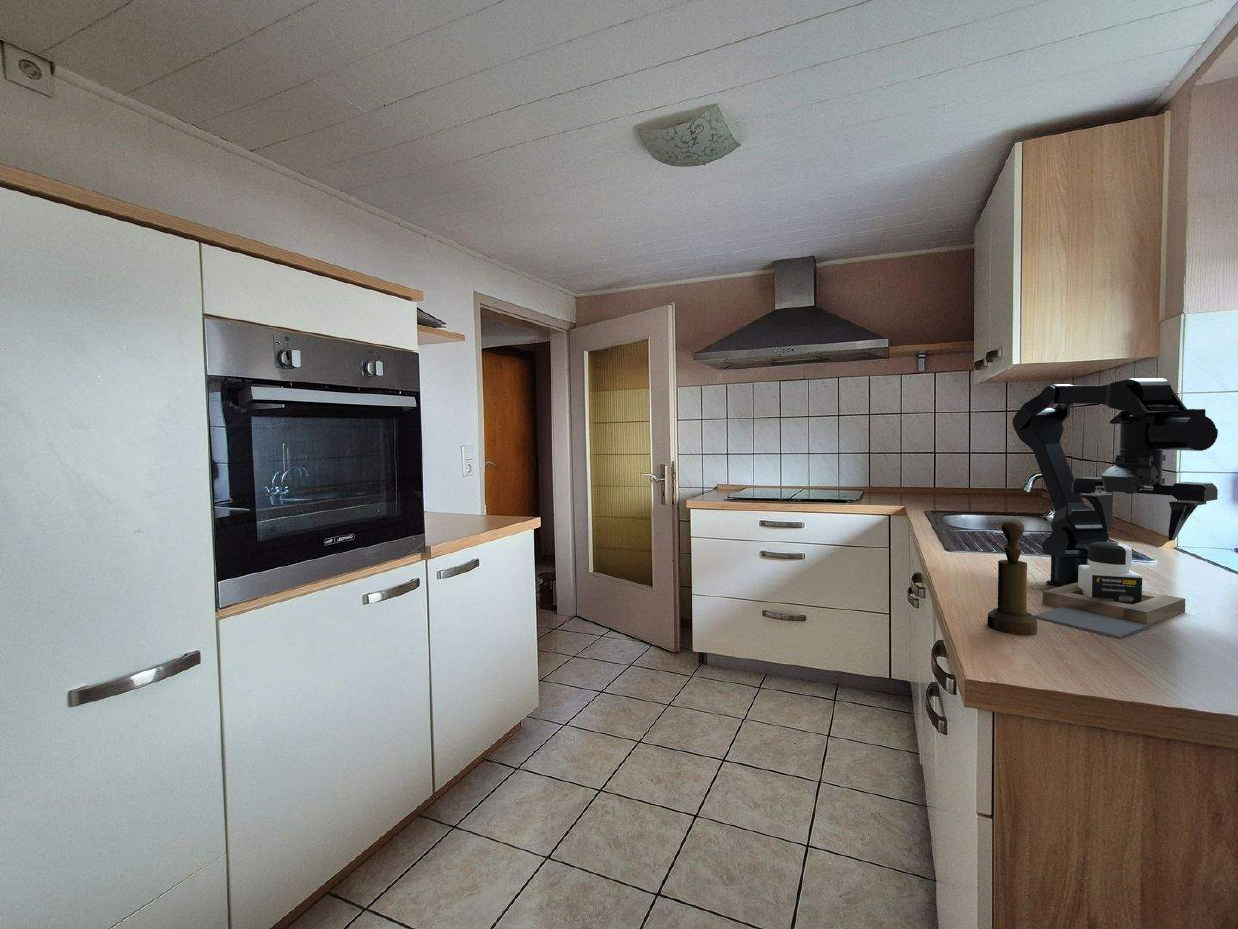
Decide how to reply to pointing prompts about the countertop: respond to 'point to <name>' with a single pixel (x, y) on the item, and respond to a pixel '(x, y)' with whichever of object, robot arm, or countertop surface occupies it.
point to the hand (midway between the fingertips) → (1138, 536)
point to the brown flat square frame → (1117, 605)
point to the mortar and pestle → (1012, 588)
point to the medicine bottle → (1110, 574)
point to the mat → (1092, 622)
